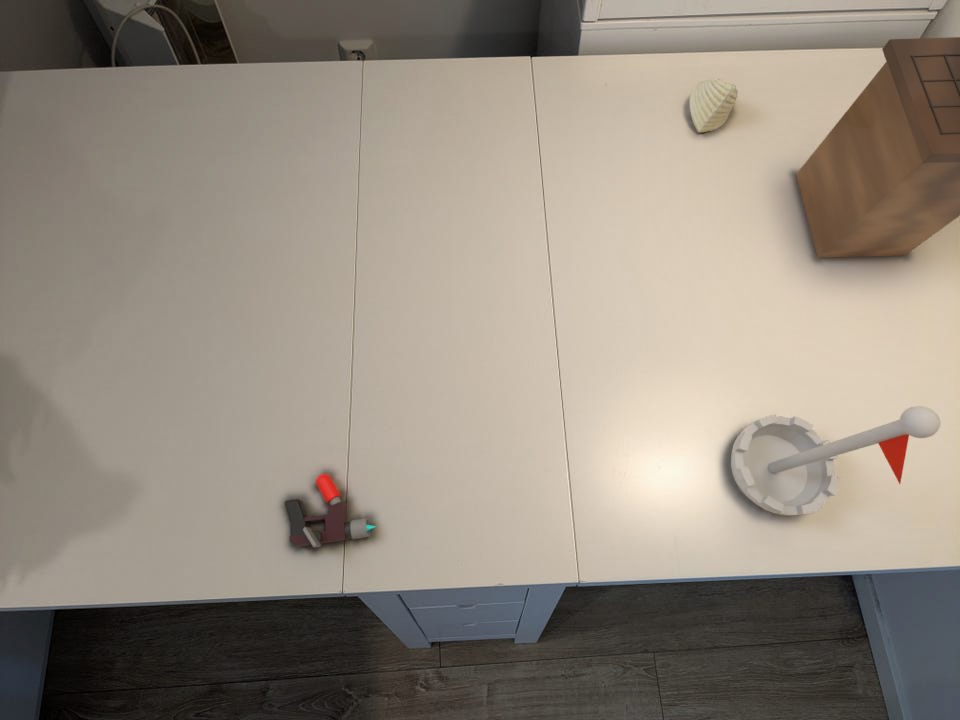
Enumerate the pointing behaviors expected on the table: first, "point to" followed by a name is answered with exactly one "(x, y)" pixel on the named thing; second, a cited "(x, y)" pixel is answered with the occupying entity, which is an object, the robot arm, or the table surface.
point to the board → (890, 157)
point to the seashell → (711, 103)
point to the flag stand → (812, 458)
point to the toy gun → (334, 520)
